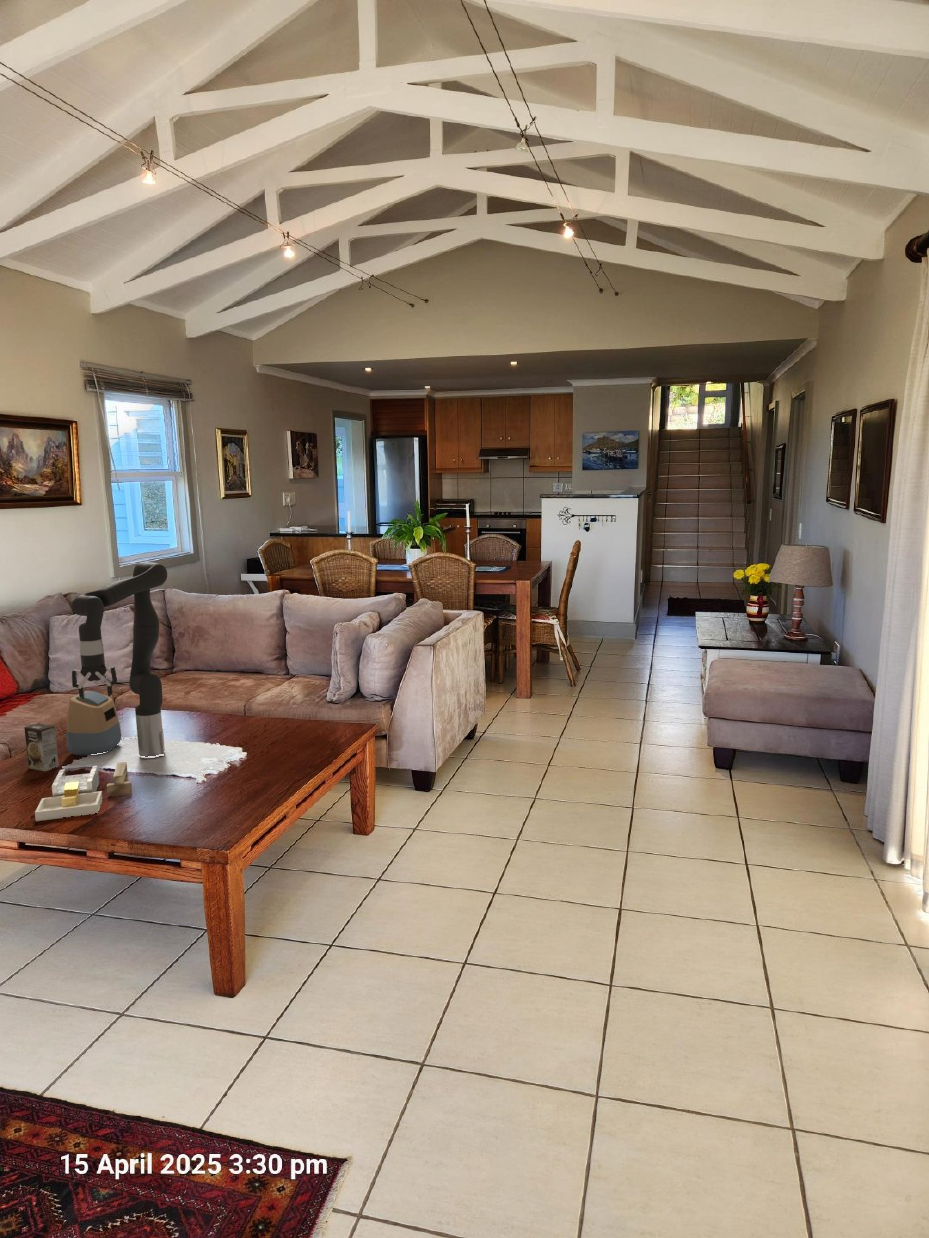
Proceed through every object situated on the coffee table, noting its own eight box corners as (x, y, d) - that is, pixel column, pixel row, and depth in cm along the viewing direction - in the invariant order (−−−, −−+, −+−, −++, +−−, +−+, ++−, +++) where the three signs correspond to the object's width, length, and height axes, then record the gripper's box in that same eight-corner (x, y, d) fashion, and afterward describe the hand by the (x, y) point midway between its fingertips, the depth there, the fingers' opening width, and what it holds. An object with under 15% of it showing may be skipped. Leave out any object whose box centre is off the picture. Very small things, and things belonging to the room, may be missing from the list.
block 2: (77, 793, 261) (75, 797, 257) (78, 804, 261) (76, 809, 257) (63, 794, 259) (61, 799, 256) (64, 806, 260) (62, 811, 256)
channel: (99, 782, 282) (97, 765, 281) (93, 799, 267) (91, 781, 266) (61, 787, 278) (60, 769, 277) (53, 804, 263) (51, 785, 262)
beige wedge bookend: (107, 796, 269) (105, 777, 268) (112, 782, 282) (110, 763, 281) (131, 794, 271) (129, 774, 270) (135, 779, 285) (133, 761, 283)
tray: (102, 799, 267) (101, 791, 266) (98, 813, 256) (97, 804, 255) (43, 806, 262) (42, 798, 261) (35, 821, 250) (34, 812, 250)
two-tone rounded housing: (106, 757, 309) (101, 699, 305) (64, 757, 310) (58, 699, 306) (125, 743, 326) (120, 688, 322) (85, 743, 326) (79, 688, 322)
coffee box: (27, 768, 298) (23, 727, 295) (43, 762, 304) (38, 722, 301) (44, 771, 294) (40, 729, 291) (59, 766, 300) (55, 724, 297)
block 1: (80, 791, 265) (78, 781, 264) (78, 798, 261) (77, 788, 260) (67, 793, 264) (65, 783, 262) (65, 800, 260) (63, 790, 259)
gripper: (115, 648, 285) (119, 692, 288) (71, 651, 281) (75, 696, 283) (112, 652, 278) (116, 697, 281) (67, 656, 274) (72, 701, 276)
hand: (96, 697), depth 282 cm, fingers open, 8 cm apart
